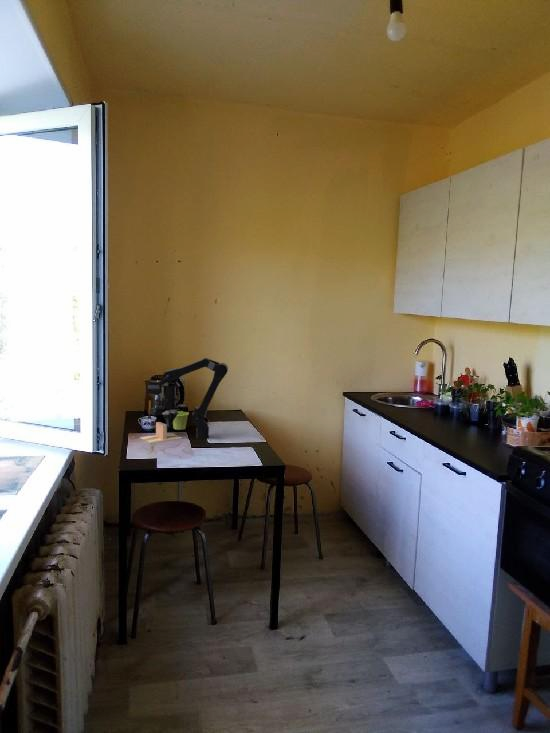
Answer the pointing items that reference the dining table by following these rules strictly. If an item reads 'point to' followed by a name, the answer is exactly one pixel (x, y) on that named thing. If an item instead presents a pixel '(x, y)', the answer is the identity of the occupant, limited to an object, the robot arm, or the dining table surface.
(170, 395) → the robot arm
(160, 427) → the tile
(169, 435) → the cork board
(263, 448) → the dining table surface
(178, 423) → the plant pot
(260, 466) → the dining table surface
